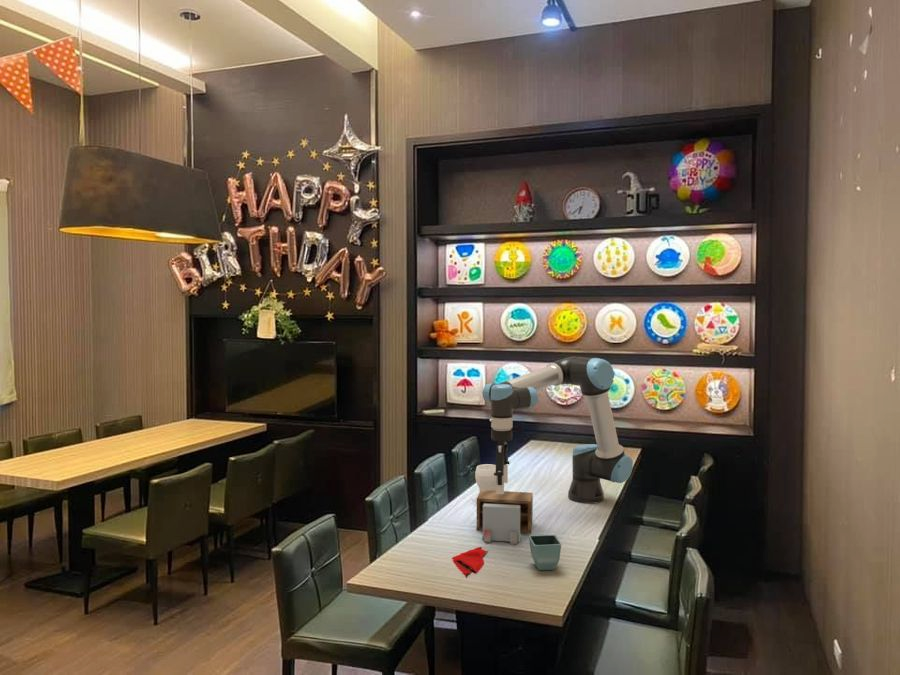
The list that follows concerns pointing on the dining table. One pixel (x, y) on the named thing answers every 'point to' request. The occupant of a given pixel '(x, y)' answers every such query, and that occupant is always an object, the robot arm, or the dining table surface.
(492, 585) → the dining table surface
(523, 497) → the cabinet
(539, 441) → the dining table surface
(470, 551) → the cloth
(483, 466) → the cup
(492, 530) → the door
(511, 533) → the hinge clips
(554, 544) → the flower pot
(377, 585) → the dining table surface
